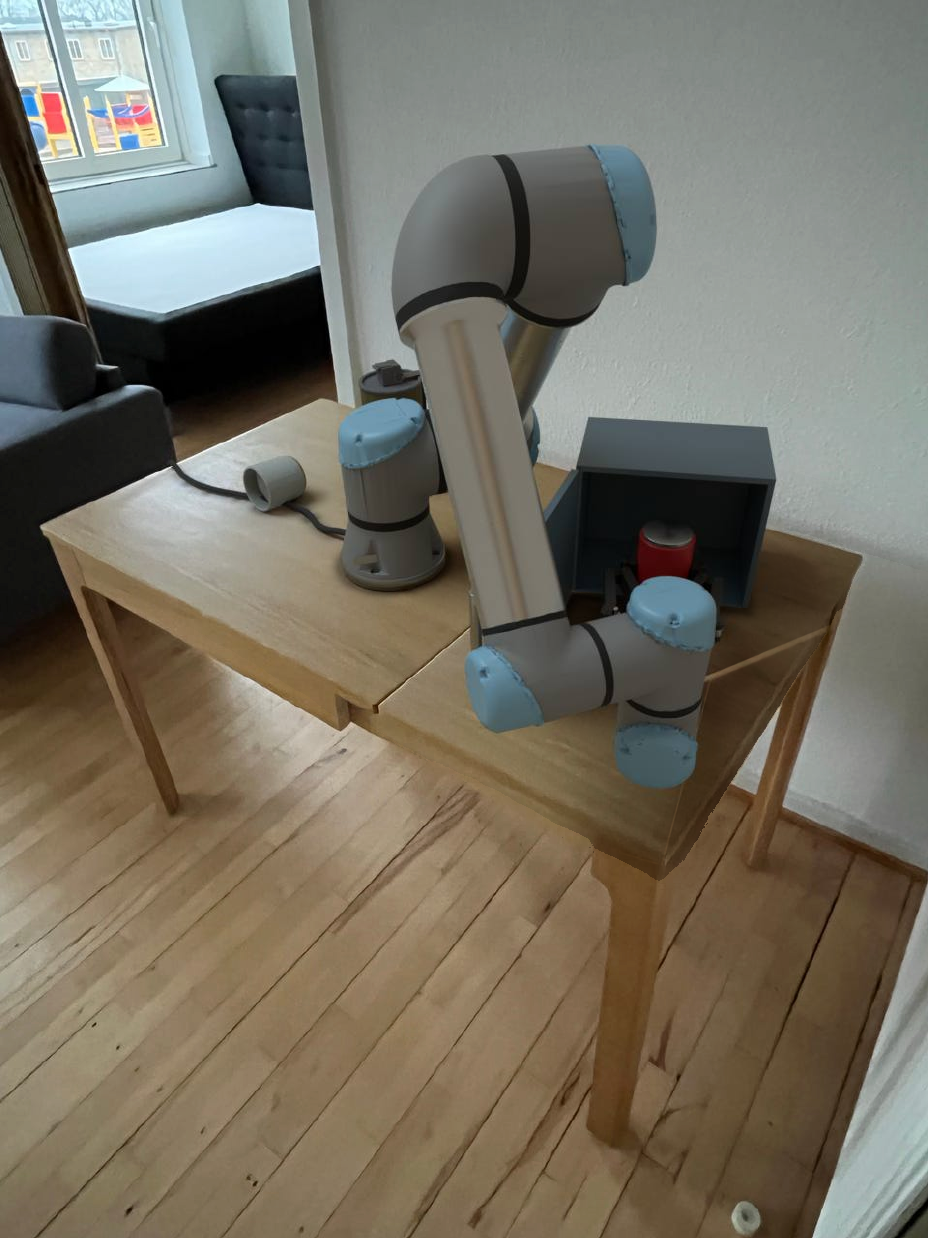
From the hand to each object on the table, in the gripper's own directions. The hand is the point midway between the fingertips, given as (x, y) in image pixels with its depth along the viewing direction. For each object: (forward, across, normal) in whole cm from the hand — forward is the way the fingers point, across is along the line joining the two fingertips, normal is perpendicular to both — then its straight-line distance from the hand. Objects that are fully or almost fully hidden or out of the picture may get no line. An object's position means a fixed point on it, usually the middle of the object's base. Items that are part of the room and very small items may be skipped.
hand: (663, 548), depth 104 cm
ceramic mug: (+19, -64, -9) cm, 67 cm away
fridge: (+8, 0, -9) cm, 12 cm away
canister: (+31, -45, -9) cm, 55 cm away
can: (-5, 0, -7) cm, 8 cm away
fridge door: (-11, -16, -9) cm, 22 cm away
